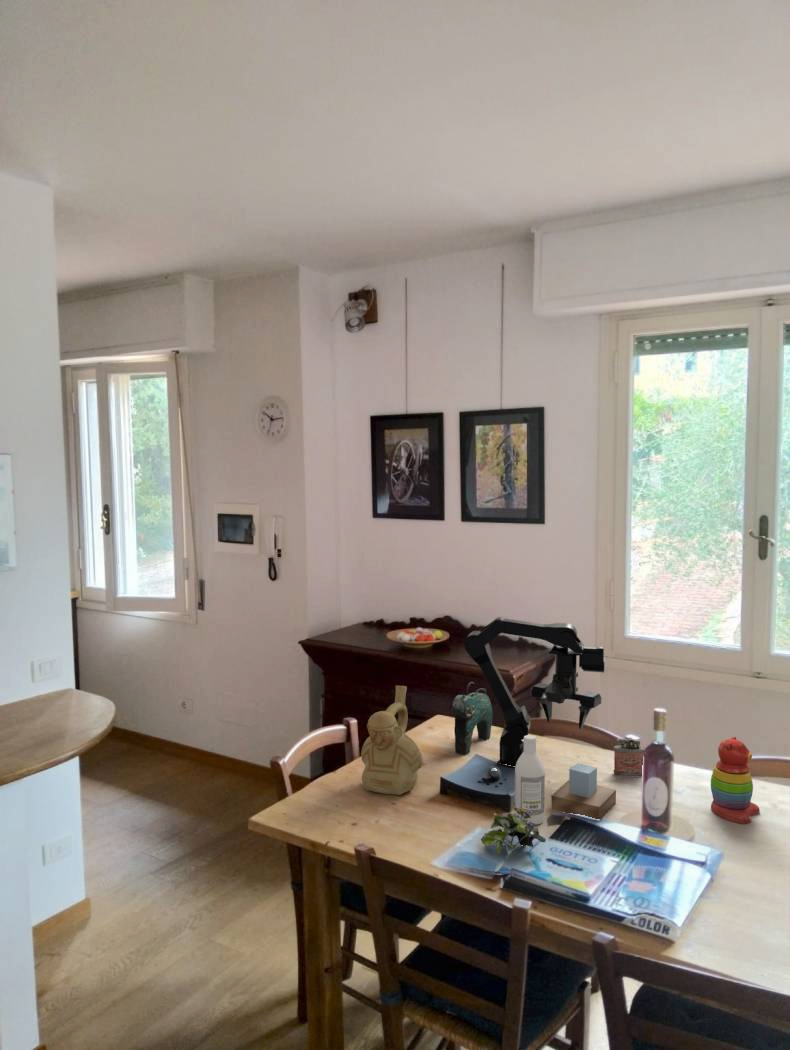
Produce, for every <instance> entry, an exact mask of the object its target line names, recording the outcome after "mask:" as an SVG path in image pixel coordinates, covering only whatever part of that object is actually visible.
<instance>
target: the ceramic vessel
mask: <svg viewBox="0 0 790 1050" xmlns="http://www.w3.org/2000/svg"><path fill="white" fill-rule="evenodd" d="M407 689H408V687H407V686H405V685H395V697H394V703H392V704H390V705H389V706H388V707H387V708H386V709H385V710H381V711H377V712H374V713H373V714H372V715H370V717H369V719H368V721H367V724H366V728H367V731H368V734H369V736H368V737H367V738H366V740H365V741H364V743H363V745H362V748H361V752H360V755H361V756H360V757H361V761H362V763H363V764H364V769H363V770H362V774H361V775H362V776H361V782H362V783H361V784H362V785H363V787H364V788H365V789H366V790H367V791H369V792H370V791H371V792H374V793H379V794H387V795H396V796H401V795H402V794H404V793H407V792H408V791H410V790H412V789H413V788H414V787H415V786H416V783H417V781H418V775H419V772H418V771H419V770H420V769H421V768H422V767H423V766H424V761H423V757H422V756H423V755H422V753H421V751H420V748H419V747H418V745H417V743H416V742H415V741H414V740H413V739H412V738H411V737H410V736H409V735H407V734H406V733H405V732H406V730H407V726H408V718H409V717H408V715H409V714H408V708H407V706H406V697H407V696H406V693H407ZM396 714H398V717H397V718H396V717H395V716H396Z"/></svg>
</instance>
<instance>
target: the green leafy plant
mask: <svg viewBox="0 0 790 1050" xmlns="http://www.w3.org/2000/svg"><path fill="white" fill-rule="evenodd" d="M513 809H514V812H515V811H516V812H517V813H518V814H520V815H521V818H520V817H519V816H518V815H517V816H516V814H515V813H513V812H510V811H509V812H505V811H503V813H501V814H500V815H498V814H497V813H495V812H494V813H493V817H492V818H493V820H494V821H493V822H492V824H491V825H490V829H493V828H498V827H500V828H499V829H493V830H490V831H488V832H487V833H486V832H485V833H483V836H482V837H481V838H480V841H481V844H483V845H484V846H485V847H486V846H488V845H489V844H490V845H492V844H497V846H496V848H497V849H496V852H497V853H498V855H499V856H500V855H501V850H502V847H503V846H504V845H505V850H506V857H508V858H509V856H510V855H511V854H512V851H514V850H516V847H517V845H520V846H521V845H523V846H525V847H526V846H527V847H530V848H534V843H533V841H534V840H538V841H539V842H540V843H546V841H547V840H546V839H547V838H545V837H543V836H541V835H540V829H539V828H538V827H535V826H536V825H535V823H532V822H527V821H528V820H525V819H527V818H531V815H530V814H529V813H528V812H527V811H526V812H525V811H524V810H522V809H520V808H519V809H518V808H515V807H513ZM523 817H524V818H525V819H524V820H523ZM501 828H503V830H502V829H501ZM509 837H511V840H510V839H509ZM514 837H516V838H517V840H518V841H517V842H516V843H515V844H513V841H514ZM505 841H506V842H505ZM490 845H489V846H490Z"/></svg>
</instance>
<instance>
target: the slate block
mask: <svg viewBox="0 0 790 1050" xmlns="http://www.w3.org/2000/svg"><path fill="white" fill-rule="evenodd" d="M568 771H569V773H568V774H569V775H568V776H569V777H568V780H569V793H570V794H574V795H578V796H582V797H586V798H589V797H591V796H592V795H593V794H594V793H595V792H597V785H598V767H596V766H593V765H587V764H582V763H579V762H578V763H576V764H575V765H573V766H572V767H571V768H569V770H568Z"/></svg>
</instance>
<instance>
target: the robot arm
mask: <svg viewBox="0 0 790 1050" xmlns="http://www.w3.org/2000/svg"><path fill="white" fill-rule="evenodd" d="M500 634H504V635H512V636H519V637H524V638H530V639H538V640H543V641H544V642H548V643H550V644H551V645H552V647H550V648H549V649H548V654H549V655H555V661H554V662H555V663H554V665H555V666H554V668H555V669H554V672H555V673H553V674H552V680H551V682H550V683H545V682H544V683H542V682H538V683H537V684H534V685H532V686H531V688H530V694H529V695H530V697H532V698H534V700H535V701H538V702H539V703H540V705H541V706H542V708H543V711H544V714H545V715H544V716H545V718H546V720H547V722H548V723H551V722H552V717H553V703H556V704H559V705H561V704H563V703H565V701H566V700H572V701H577V702H579V704H580V705H579V706H578V709H579V717H578V729H579V730H582V729H583V727H584V725H585V722H586V720H587V718H588V715H589V714H590V711H591V710H592V709H595V708H596V707H598V706H599V705H601V704H602V696H601V695H600V693H599V692H598V693H597V692H594V691H586V692H584V693H578V692H579V687H578V686H577V677H579V672H577V663H578V668H581V670H582V672H588V673H589V672H590V673H603V674H604V673H605V657H604V656H605V653H604V652H605V649H604V647H603V646H595V647H594V646H584V643H583V642H582V640H581V639H580V638H579V636H578V631H577V628H576V627H575V626H574V625H573V624H572V623H567V622H559V623H557V622H556V623H548V624H547V623H546V624H545V623H543V624H542V623H537V622H532V621H531V622H529V621H523V620H517V619H510V618H505V617H502V616H498V617H496V618H494V619H493V620H492V621H491V622H490V623H488V624H487V625H485V626H484V627H483V628H480V630H473V631H471V632H470V633H469V634H468V635H467V637H466V638H465V640H464V643H463V647H464V650H465V652H466V653H467V654H468V656H469V657H470V658H471V660H472V661H474V663H476V665H477V666H479V668H480V669H481V672H482V673H483V674H482V675H483V676H484V678H485V680H486V682H487V684H488V686H489V687H490V690H491V692H492V693H493V695H494V697H495V700H496V701H497V703H498V705H499V707H500V709H501V711H502V715H503V719H504V723H505V727H504V728H503V730H502V732H501V735H500V738H499V759H498V760H496V764H497V763H501V764H507V765H511V766H515V767H516V763H517V761H518V759H519V757H520V756H521V754H522V753H523V752H524V736H526V735H529V733H530V728H531V718H532V717H531V715H529V713H528V711H527V708H526V707H525V705H522V706H521V707H520V706H519V705H518V704H517V703H516V702H515V700H514V698H513V696H512V694H511V692H510V690H509V688H508V686H507V683H506V682H505V681H504V679H503V676H502V675H501V672H500V671H499V669H498V667H497V665H496V663H495V661H494V659H493V656H492V655H493V654H492V651H491V647H490V644H489V643H490V642H492V641H493V640H494V639H495V638H496V637H498V636H499V635H500ZM577 657H578V659H577ZM577 661H578V662H577ZM501 764H500V765H501Z"/></svg>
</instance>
